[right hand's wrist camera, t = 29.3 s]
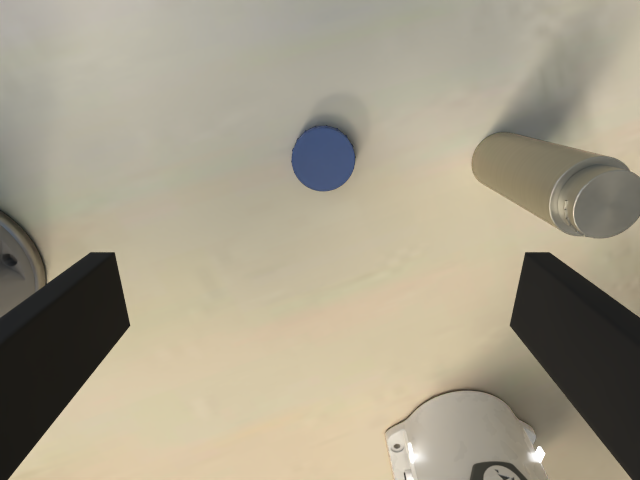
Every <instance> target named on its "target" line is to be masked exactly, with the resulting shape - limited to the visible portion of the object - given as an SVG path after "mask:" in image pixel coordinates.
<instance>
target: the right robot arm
mask: <svg viewBox="0 0 640 480" xmlns="http://www.w3.org/2000/svg"><path fill="white" fill-rule="evenodd" d="M45 281H46V279H45V270H44V266H43V262H42V259H41V257H40V254H39V252H38V250H37V248H36V247H35V245H34V243H33V242H32V240H31V239H30V238H29V236H28V235H27V234H26V233H25V231H24V230H23V229H22V228H21V227H20V226H19V225H18V224H17V223H16V222H15V221H13V220H12V219H11V218H10V217H9V216H7V215H6V214H4V213H3V212H2V211H0V480H8V479H9V478H10V476H11V475H12V474H13V472H14V471H15V470H16V469H17V467H18V466H19V465H20V464H21V462H22V461H23V460H24V459H25V457H26V456H27V455H28V454H29V452H30V451H31V450H32V449H33V447H34V446H35V445H36V444H37V442H38V441H39V440H40V438H41V437H42V436H43V435H44V433H45V432H46V431H47V430H48V428H49V427H50V426H51V425H52V423H53V422H54V421H55V420H56V418H57V417H58V416H59V415H60V413H61V412H62V411H63V410H64V408H65V407H66V406H67V405H68V403H69V402H70V401H71V399H72V398H73V397H74V396H75V394H76V393H77V392H78V391H79V389H80V388H81V387H82V386H83V384H84V383H85V382H86V381H87V379H88V378H89V377H90V376H91V374H92V373H93V372H94V371H95V369H96V368H97V367H98V365H99V364H100V363H101V362H102V360H103V359H104V358H105V357H106V355H107V354H108V353H109V352H110V350H111V349H112V348H113V347H114V345H115V344H116V343H117V342H118V340H119V339H120V338H121V337H122V335H123V334H124V333H125V332H126V330H127V329H128V328H129V326H130V322H129V318H128V313H127V308H126V304H125V299H124V294H123V289H122V285H121V280H120V275H119V271H118V266H117V261H116V257H115V252H91V253H89V254H88V255H86V256H85V257H84V258H82V259H81V260H79V261H78V262H77V263H75V264H74V265H73V266H71V267H70V268H68V269H67V270H66V271H64V272H63V273H61V274H60V275H59V276H57V277H56V278H55V279H53V280H52V281H50V282H49V283H48V284H46V285H45ZM510 326H511V328H512V329H513V330H514V332H515V333H516V334H517V335H518V337H519V338H520V339H521V340H522V342H523V343H524V344H525V345H526V347H527V348H528V349H529V350H530V352H531V353H532V354H533V355H534V357H535V358H536V359H537V360H538V362H539V363H540V364H541V365H542V367H543V368H544V369H545V371H546V372H547V373H548V374H549V376H550V377H551V378H552V379H553V381H554V382H555V383H556V384H557V386H558V387H559V388H560V389H561V391H562V392H563V393H564V394H565V396H566V397H567V398H568V399H569V401H570V402H571V403H572V405H573V406H574V407H575V408H576V410H577V411H578V412H579V413H580V415H581V416H582V417H583V418H584V420H585V421H586V422H587V423H588V425H589V426H590V427H591V428H592V430H593V431H594V432H595V433H596V435H597V436H598V437H599V438H600V440H601V441H602V442H603V444H604V445H605V446H606V447H607V449H608V450H609V451H610V452H611V454H612V455H613V456H614V457H615V459H616V460H617V461H618V462H619V464H620V465H621V466H622V467H623V469H624V470H625V471H626V472H627V474H628V475H629V476H630V478H631V479H632V480H640V318H639V317H638V316H637V315H635V314H634V313H633V312H631V311H630V310H628V309H627V308H626V307H624V306H623V305H621V304H620V303H619V302H617V301H616V300H615V299H613V298H612V297H610V296H609V295H608V294H606V293H605V292H603V291H602V290H601V289H599V288H598V287H597V286H595V285H594V284H592V283H591V282H590V281H588V280H587V279H585V278H584V277H583V276H581V275H580V274H579V273H577V272H576V271H574V270H573V269H572V268H570V267H569V266H567V265H566V264H565V263H563V262H562V261H561V260H559V259H558V258H556V257H555V256H554V255H552V254H551V253H549V252H525V257H524V261H523V266H522V271H521V275H520V280H519V285H518V289H517V294H516V299H515V304H514V308H513V313H512V318H511V322H510Z"/></svg>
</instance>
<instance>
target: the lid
mask: <svg viewBox="0 0 640 480" xmlns="http://www.w3.org/2000/svg"><path fill="white" fill-rule="evenodd" d="M292 151H293V153H292V161H291V162H292V166H293V170H294V173H295V174H296V176H297V178H298V179H299V180H300V181H301V182H302V183H303V184H304V185H305V186H307V187H308V188H311V189H313V190H317V191H330V190H333V189H336V188H338V187H340V186H341V185H343V184H344V183H345V182H346V181H347V180H348V179H349V177H350V176H351V174H352V172H353V169H354V165H355V154H354V150H353V145H352V144H351V143H350V141H349V140H348V138H347V135H344V134H343V133H342V132H341V131H339V130H338V128H337V129H336V128H333V127H330V126H327V125H326V126H317V127H316V126H315V127H313V128H311V129H309V130H307V131H305V132H304V133H303V134H302V135H301V136H300V138H298V139H297V142H296V144H295V147H294V148H293V150H292Z"/></svg>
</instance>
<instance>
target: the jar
mask: <svg viewBox="0 0 640 480" xmlns="http://www.w3.org/2000/svg"><path fill="white" fill-rule="evenodd" d="M472 170H473V173H474V175H475V177H476V179H477V180H478V181H479V182H481V183H482V184H484V185H485V186H487V187H489V188H490V189H492V190H494V191H496V192H497V193H499V194H501V195H502V196H504V197H506V198H507V199H509V200H511V201H512V202H514V203H516V204H517V205H519V206H521V207H522V208H524V209H526V210H527V211H529V212H531V213H532V214H534V215H536V216H537V217H539V218H541V219H542V220H544V221H546V222H547V223H549V224H551V225H552V226H554V227H556V228H557V229H559V230H561V231H563V232H564V233H567V234H569V235H573V236H585V237H592V238H608V237H612V236H615V235H618V234H620V233H622V232H623V231H625V230H626V229H628V228H629V227H630V226H631V225H632V224H634V223H635V221H636V220H637V219H638V218H639V216H640V177H639V176H638V175H636V174H635V173H633V172H630V170H629V168H628V167H627V166H626V165H625V164H624V163H623V162H621V161H620V160H618V159H615V158H612V157H608V156H604V155H600V154H596V153H592V152H588V151H584V150H579V149H575V148H571V147H567V146H563V145H559V144H555V143H551V142H546V141H542V140H538V139H534V138H530V137H526V136H522V135H517V134H513V133H509V132H499V133H495V134H492V135H490V136H489V137H487V138H485V139H484V140H483V141H482V142H481V143H480V144H479V145H478V147H477V148H476V150H475V152H474V155H473V158H472Z"/></svg>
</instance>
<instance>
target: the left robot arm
mask: <svg viewBox="0 0 640 480" xmlns="http://www.w3.org/2000/svg"><path fill="white" fill-rule="evenodd" d="M385 439H386V443H387V448H388V453H389V458H390V462H391V467H392V472H393V476H394V480H549V478H548V476H547V474H546V472H545V469H544V467H543V465H542V463H541V461H542V459H543V457H544V455H545V453H544V451H543V450H542V448H541V447H538V448H537V450H536V451H535V449H534V447H533V444H534V442H535V440H536V434H535V432H534V430H533V428H532V427H531V426H530V425H528V424H526V423H525V422H523V421H521V420H519V419H518V418H517V417H516V416H515V415H514V413H513V411H512V410H511V409H510V407H509V406H508V405H507V404H506V403H505V402H503V401H502V400H501V399H499V398H497V397H495V396H493V395H490V394H487V393H484V392H479V391H456V392H450V393H446V394H443V395H440V396H437V397H435V398H433V399H431V400H429V401H427V402H426V403H424V404H423V405H421V406H420V407H419V408H417V409H416V410H415V411H414V412H413V413H412V414H411V416H410V417H409V418H407V419H406V420H405V421H404V422H402V423H399V424H397V425H395V426H393V427H392V428H390V429H389V430H387V432H386V433H385Z"/></svg>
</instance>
